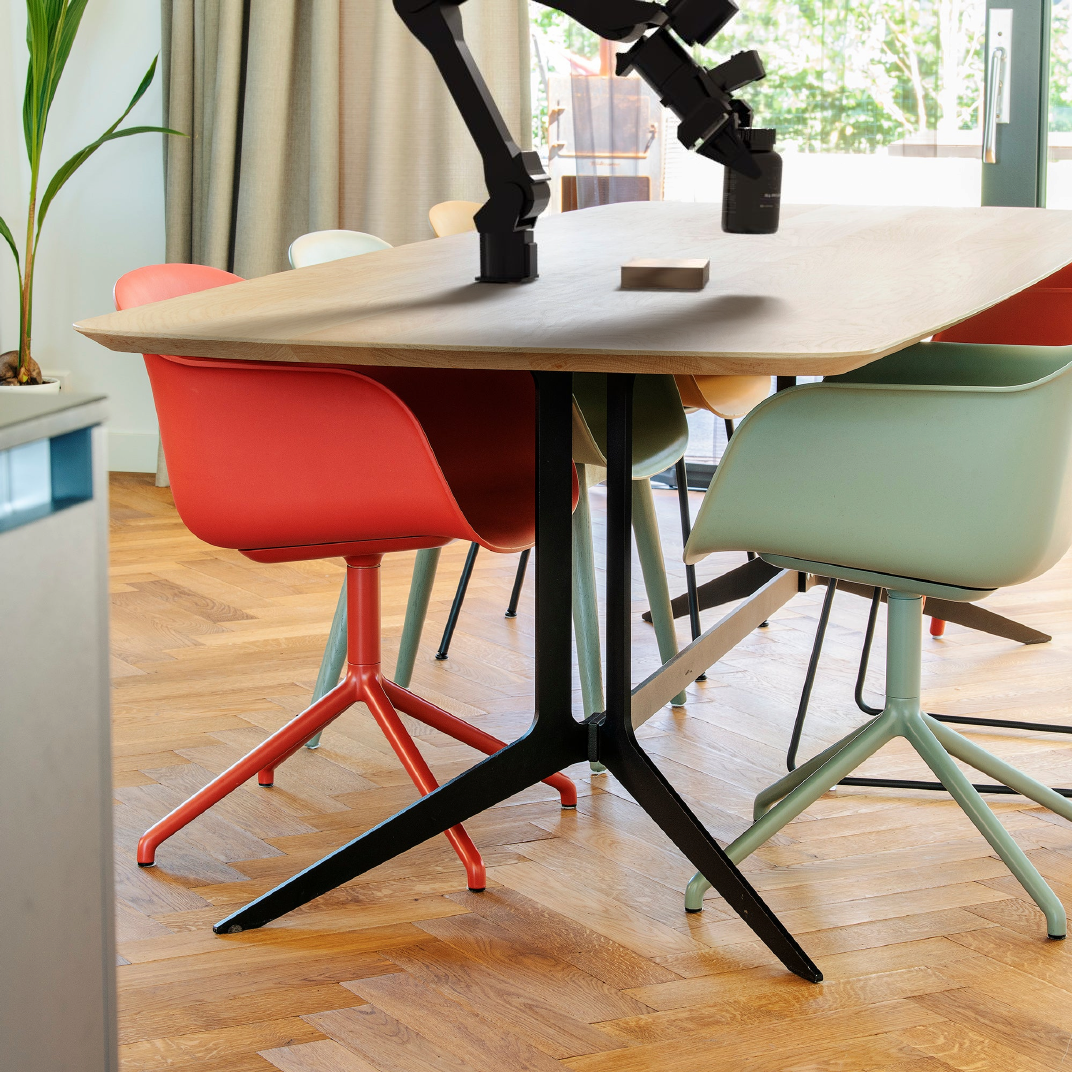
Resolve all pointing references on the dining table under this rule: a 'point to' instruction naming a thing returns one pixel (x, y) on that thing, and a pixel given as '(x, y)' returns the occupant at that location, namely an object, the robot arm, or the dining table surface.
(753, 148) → the supplement bottle
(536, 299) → the dining table surface
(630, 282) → the tan flat square block
